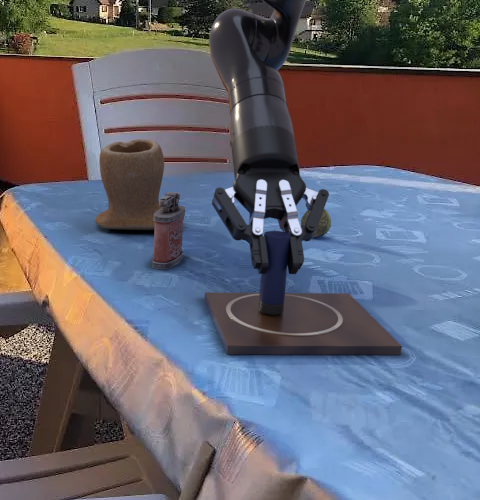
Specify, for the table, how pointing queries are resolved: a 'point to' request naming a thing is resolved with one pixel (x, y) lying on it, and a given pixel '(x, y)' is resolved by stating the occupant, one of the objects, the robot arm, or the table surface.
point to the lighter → (168, 232)
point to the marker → (274, 273)
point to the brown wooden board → (298, 326)
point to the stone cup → (131, 184)
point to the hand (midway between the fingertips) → (279, 270)
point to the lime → (323, 223)
